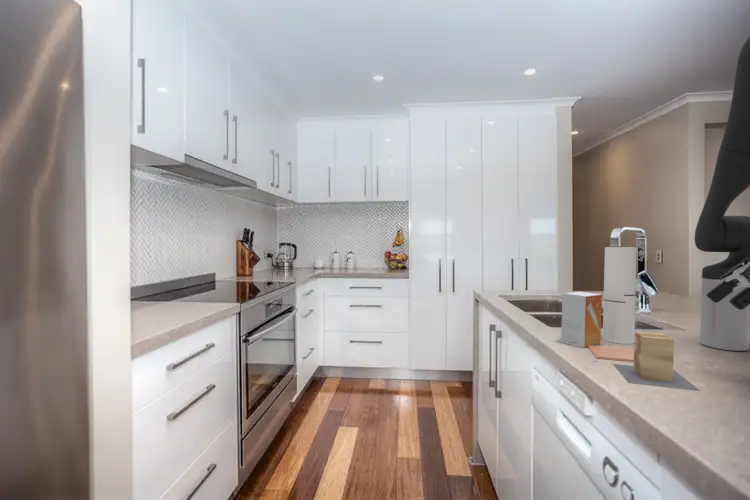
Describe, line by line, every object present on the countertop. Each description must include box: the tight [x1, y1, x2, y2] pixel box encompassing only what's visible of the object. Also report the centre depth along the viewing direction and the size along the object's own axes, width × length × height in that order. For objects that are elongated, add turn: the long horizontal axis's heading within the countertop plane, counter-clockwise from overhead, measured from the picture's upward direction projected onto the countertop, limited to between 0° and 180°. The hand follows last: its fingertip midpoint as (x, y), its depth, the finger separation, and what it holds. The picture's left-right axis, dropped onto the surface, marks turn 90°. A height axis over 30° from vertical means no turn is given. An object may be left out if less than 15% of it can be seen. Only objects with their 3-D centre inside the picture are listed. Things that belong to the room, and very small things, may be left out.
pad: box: [587, 345, 634, 363], centre depth 90 cm, size 10×10×1 cm
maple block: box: [633, 331, 675, 382], centre depth 76 cm, size 5×5×8 cm
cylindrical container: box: [602, 246, 637, 345], centre depth 103 cm, size 7×7×25 cm
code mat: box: [612, 363, 701, 392], centre depth 76 cm, size 12×11×1 cm
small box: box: [560, 291, 603, 348], centre depth 100 cm, size 8×6×13 cm
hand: (721, 302), depth 72 cm, fingers open, 8 cm apart
